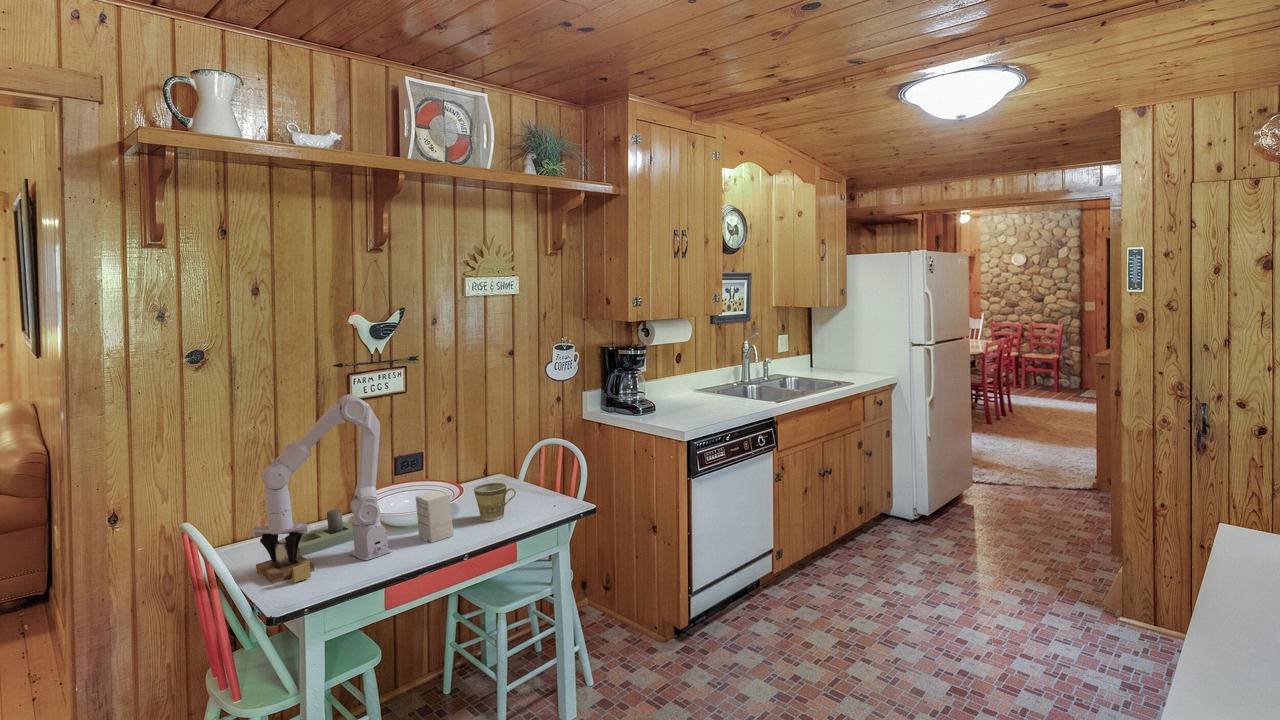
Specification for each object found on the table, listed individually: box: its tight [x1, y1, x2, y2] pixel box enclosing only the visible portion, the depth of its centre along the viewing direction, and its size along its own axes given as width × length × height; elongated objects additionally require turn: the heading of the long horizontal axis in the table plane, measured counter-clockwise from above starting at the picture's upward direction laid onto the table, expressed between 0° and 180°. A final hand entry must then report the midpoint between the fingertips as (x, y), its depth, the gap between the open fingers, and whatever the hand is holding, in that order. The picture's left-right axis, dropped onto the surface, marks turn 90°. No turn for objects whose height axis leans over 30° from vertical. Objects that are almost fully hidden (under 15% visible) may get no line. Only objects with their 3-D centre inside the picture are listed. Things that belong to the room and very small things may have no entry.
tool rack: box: [281, 509, 354, 557], centre depth 206 cm, size 12×18×8 cm, turn 138°
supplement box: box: [415, 490, 454, 544], centre depth 205 cm, size 7×7×13 cm
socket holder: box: [255, 554, 315, 584], centre depth 185 cm, size 12×10×2 cm
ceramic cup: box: [473, 481, 517, 522], centre depth 220 cm, size 13×10×10 cm
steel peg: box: [274, 539, 293, 569], centre depth 184 cm, size 4×4×8 cm
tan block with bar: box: [291, 561, 312, 583], centre depth 180 cm, size 8×4×4 cm, turn 48°
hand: (284, 560), depth 185 cm, fingers closed on steel peg, 4 cm apart
